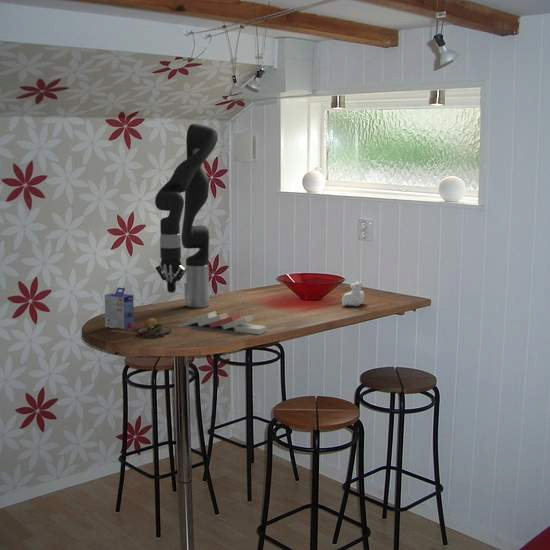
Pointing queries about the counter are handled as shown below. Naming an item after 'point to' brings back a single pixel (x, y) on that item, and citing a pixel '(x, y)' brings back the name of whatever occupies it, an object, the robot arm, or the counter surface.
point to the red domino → (225, 321)
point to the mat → (207, 327)
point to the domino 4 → (250, 328)
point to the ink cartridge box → (119, 310)
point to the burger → (152, 329)
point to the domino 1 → (201, 318)
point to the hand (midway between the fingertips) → (171, 292)
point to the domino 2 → (213, 319)
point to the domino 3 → (238, 322)
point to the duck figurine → (354, 295)
